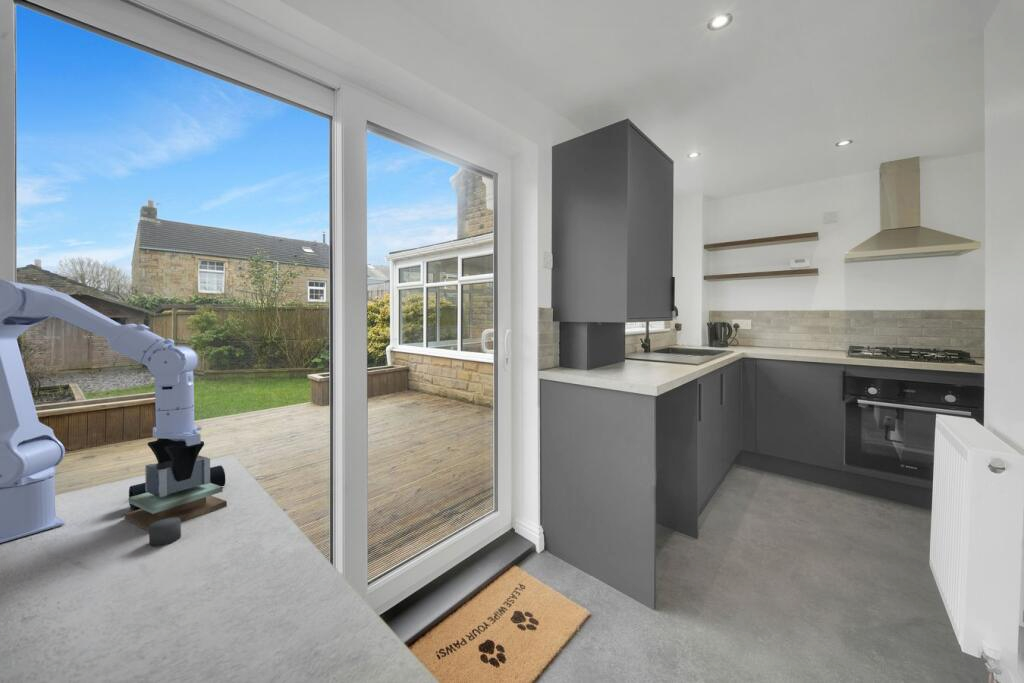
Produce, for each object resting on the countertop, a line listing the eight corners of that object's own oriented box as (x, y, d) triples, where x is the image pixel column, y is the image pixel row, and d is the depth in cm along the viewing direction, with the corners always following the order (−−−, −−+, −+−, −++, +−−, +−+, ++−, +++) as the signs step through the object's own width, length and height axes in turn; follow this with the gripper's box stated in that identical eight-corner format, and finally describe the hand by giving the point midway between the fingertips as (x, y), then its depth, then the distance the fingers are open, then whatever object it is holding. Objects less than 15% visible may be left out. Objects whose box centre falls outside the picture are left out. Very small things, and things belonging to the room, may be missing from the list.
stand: (150, 532, 69) (150, 509, 69) (124, 519, 74) (124, 498, 74) (226, 506, 79) (226, 486, 79) (199, 495, 85) (198, 477, 84)
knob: (155, 549, 64) (155, 531, 63) (144, 543, 65) (144, 525, 65) (185, 538, 67) (185, 520, 67) (174, 532, 69) (174, 515, 69)
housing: (195, 478, 82) (195, 454, 82) (210, 483, 79) (210, 458, 79) (145, 491, 75) (145, 465, 75) (160, 497, 72) (159, 470, 72)
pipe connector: (121, 475, 83) (207, 457, 95) (121, 500, 83) (207, 478, 96) (134, 488, 76) (225, 467, 89) (135, 515, 77) (225, 490, 89)
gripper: (218, 407, 76) (219, 476, 77) (182, 401, 83) (183, 465, 84) (173, 414, 70) (175, 489, 70) (138, 407, 77) (140, 476, 77)
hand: (176, 477), depth 77 cm, fingers closed on housing, 5 cm apart
